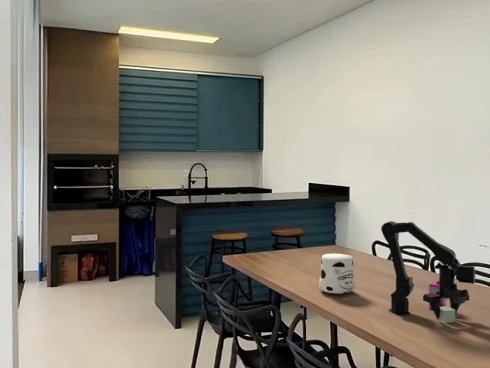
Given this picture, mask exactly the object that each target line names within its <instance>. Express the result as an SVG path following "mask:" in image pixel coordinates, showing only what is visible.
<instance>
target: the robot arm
mask: <svg viewBox="0 0 490 368" xmlns="http://www.w3.org/2000/svg"><path fill="white" fill-rule="evenodd" d="M380 229H381V234H382V236H383V238H384V239H385V241H386V242H387V244H388V248H389V252H390V256H391V260H392V264H393V268H394V272H395V290H394V291H393V292H392V293H391V294H390V297H391V300H390V301H391V308H389V309H388V311H389V312H391V313H393V314H395V315H396V316H400V315H401V316H402V315H410V314H411V312H410V310H409V309H410V308H409V305H410V302H409V298H408V297H409V296H410V295H411V294H412V293H413V291H414V287H415V286H416V285H415V284H414V282H413V281H414V280H413V277H412V276H410V277H409V275H408V274H407V271H406V267H405V262H404V258H403V254H402V251H401V247H400V242H399V240H400V239H399V238H400V237H399V236H400V234H401V233H402V234H403V233H409V234H410V235H411V236H413V237H414V239H416V240H417V241H418V242H420V243H421V244H422V245H424V246H425V247H426V248H427V249H428V250H429V251H431V252H432V253H433V255H434V257H435V258H436V259H437V260H438V263H437V264H436V265H434V267H433V268H434V269H436V270H439V274H438V275H439V277H438V280H437V281H436V282H437V284H439V291H437V294H439V295H435V294H432V293H429V292H428V293H424V294H423V295H422V301H424V302H425V303H427V304H429V303H430V305H431V307H432V309H433V310H432V311H433V313H434V316H435V317H436V318H437V319H439V317H440V307H441V306H442V304H441V303H440V302H441V300H446V301H447V300H449V304H450V306H449V307H450V308H452V309H454V310H455V316H456V315H457V313H458V310H459V308H460V306H461V305H462V304H465V303H466V302H468V301H470V294H469V291H468V290H467V289H458V285H457V283H455V279H456V281H458V283H465V284H472V285H474V284H475V282H476V273H475V272H476V270H475V266H473V265H461V263H460V262H459V260H458V259H457V255H456V252H455V251H454V250H453V249H451V248H450V247H447V246H445V245H444V244H441V243H439V242H438V241H436V240H435V239H434V238H432V237H431V236H430V235H428V234H427V232H425V231H424V230H423V229H421V228H420V227H418V226H417V224H415V223H414V222H412V221H409V222H395V221H393V220H391V221H387V222H385V223H383V224H382V226H381V228H380ZM437 319H436V320H437Z"/></svg>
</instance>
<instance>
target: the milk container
mask: <svg viewBox="0 0 490 368" xmlns="http://www.w3.org/2000/svg"><path fill="white" fill-rule="evenodd" d="M318 285H319V289H320V291H321V292H323V293H325V294H328V295H332V296H333V295H335V296H344V295H345V296H347V295H350V294H351V293H353V292H354V290H355V285H356V284H355V278H354V258H353V256H352V255H349V254H344V253H326V254H322V256H321V263H320V276H319V280H318Z"/></svg>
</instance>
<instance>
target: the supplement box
mask: <svg viewBox="0 0 490 368" xmlns="http://www.w3.org/2000/svg"><path fill="white" fill-rule="evenodd" d="M428 289H429V290H428V291H429V292H428V294H429V293H432V294H435V295H439V294H437V291H439V284H437V281H432V282H430V283H429V284H428ZM440 303H441V304H442V306H441V307H444V306H447V299H446V300H441V302H440ZM428 305H429V306H428V307H429V308H428V309H429V310H431V311H433V309H432V307H431V305H430V303H428Z"/></svg>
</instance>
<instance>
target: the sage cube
mask: <svg viewBox="0 0 490 368" xmlns="http://www.w3.org/2000/svg"><path fill="white" fill-rule="evenodd" d="M436 320H437V321H440V322H442V323H444V324H448V323H455V322H456V315H455V310H454V309H452V308H451V306H447V305H446V306H444V307H440V317H439V319H437V318H436Z"/></svg>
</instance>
